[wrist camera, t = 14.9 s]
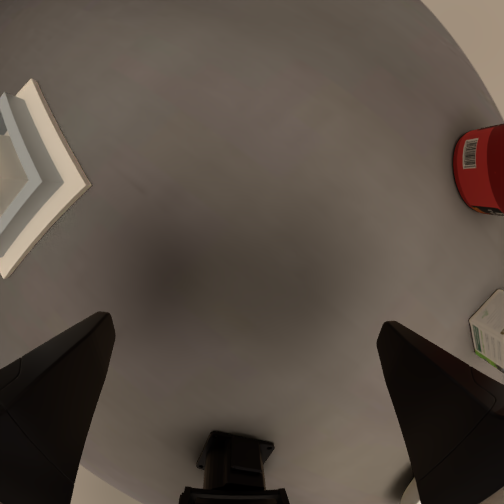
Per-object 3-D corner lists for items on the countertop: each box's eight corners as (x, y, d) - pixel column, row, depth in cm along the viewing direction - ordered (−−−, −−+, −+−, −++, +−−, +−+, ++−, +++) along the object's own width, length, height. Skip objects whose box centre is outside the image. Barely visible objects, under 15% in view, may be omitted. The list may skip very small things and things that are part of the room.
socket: (91, 185, 19) (64, 183, 16) (9, 276, 20) (-17, 287, 16) (37, 81, 17) (12, 68, 13) (-34, 175, 18) (-59, 174, 14)
